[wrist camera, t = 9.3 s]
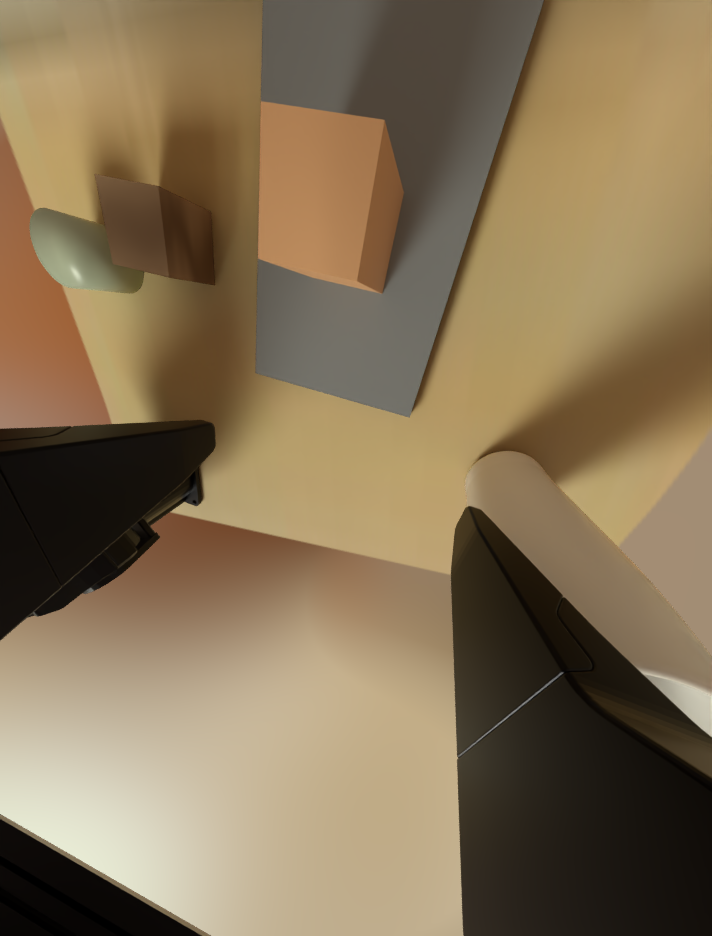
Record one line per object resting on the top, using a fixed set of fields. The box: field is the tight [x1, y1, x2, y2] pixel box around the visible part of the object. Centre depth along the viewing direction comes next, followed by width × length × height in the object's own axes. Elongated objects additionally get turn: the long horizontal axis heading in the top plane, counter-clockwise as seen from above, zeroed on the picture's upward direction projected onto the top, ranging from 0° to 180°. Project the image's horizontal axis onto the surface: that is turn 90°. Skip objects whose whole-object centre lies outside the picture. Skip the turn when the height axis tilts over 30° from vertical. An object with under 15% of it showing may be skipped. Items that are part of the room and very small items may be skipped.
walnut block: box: [95, 174, 215, 285], centre depth 17 cm, size 4×4×4 cm
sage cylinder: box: [30, 208, 144, 293], centre depth 19 cm, size 4×4×4 cm
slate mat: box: [256, 0, 544, 417], centre depth 16 cm, size 18×12×1 cm, turn 169°
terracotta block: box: [258, 101, 404, 294], centre depth 13 cm, size 4×4×6 cm
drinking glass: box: [465, 451, 712, 737], centre depth 14 cm, size 7×7×15 cm
